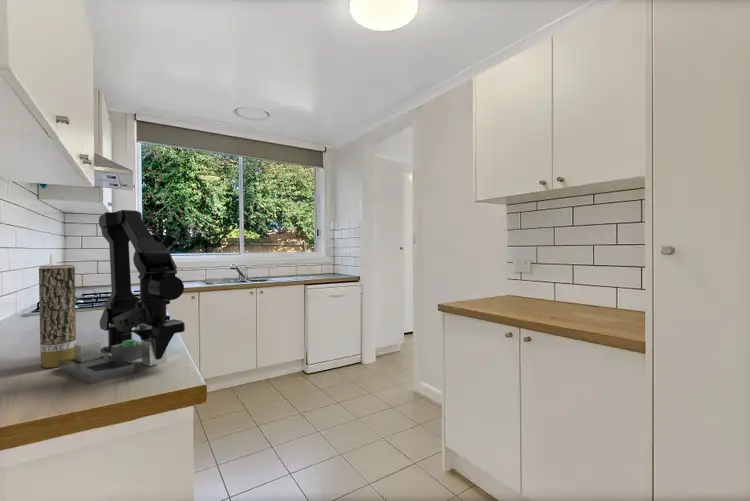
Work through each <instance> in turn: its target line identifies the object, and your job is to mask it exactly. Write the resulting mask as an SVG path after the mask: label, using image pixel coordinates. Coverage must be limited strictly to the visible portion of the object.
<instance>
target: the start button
mask: <svg viewBox="0 0 750 501" xmlns="http://www.w3.org/2000/svg"><path fill="white" fill-rule="evenodd" d="M136 341H137V340H136V339H132V340H126V341H123V342H122V347H129V346H134V345H136Z"/></svg>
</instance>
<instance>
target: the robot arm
mask: <svg viewBox="0 0 750 501" xmlns="http://www.w3.org/2000/svg"><path fill="white" fill-rule="evenodd" d="M98 225H99V226H98V227H99V228H100V229H101V235H102V236H103V238H104V239H105V240H106V242H108V244H109V265H110V282H111V283H110V285H111V294H110V295H109V296H108V298H107V300H106V301H105V303H104V304H105V306H104V309H103V312H102V314H101V316H100V319H99V327H100V330H104V331H105V332H107V338H108V340H107V342H108V343H107V345H108V346H103V347H102V350H104V351H108V352H111V346H113V345H118V344H122V342H123V341H126V340H133V334H136V335H137V336H139V338H140V340H141V341H140V342H142V340H144V339H149V338H151V339H152V340H153V344H154V351H155V357H156V359H157V360H158V359H161V358H162V356H163V354H164V352H165V350H166V351H167V348H168V346H169V344H170V343H171V340H172V339H173V337H174V335H175V334H179V333H183V332H184V333H185V331H186V324H185V322H183V321H182V320H179V319H175V318H173V319H171V315H168V314H167V305H170V304H171V301H174V300H176V299H179V298H180V297H181V296H182V295H183V293H184V291H185V285H184V283H183V281H182V279H180V277H178V276H176V274H178V271H177V268H178V266H177V265H176V263H175V261H174V259H173V257H172V254H171V252H170V251H169V249H167V247H166V246H165V245H164V244H163V243H162V242H159V241H157V240H155V238H154V237H153V235H152V234H151V231H150V230H149V229H148V227H147V225H146V224H145V222H144V220H143V215H142V212H140V211H138V210H130V209H129V210H128V209H121V210H117V211H112V212H107V211H105V212H104V213H103V214H101V215H100V216H99V218H98ZM130 243H131V244H132V246H133V248H134V253H133V256H132V257H133V258H132V260H133V265H134V266H135V269H136V270H137V272H138V276H137V279H139V297H138V296H135V294H134V293H133V292H132V283H131V282H132V279H131V278H132V277H131V262H130V261H131V259H130V258H131V257H130ZM133 328H134V329H133Z"/></svg>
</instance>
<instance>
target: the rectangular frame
mask: <svg viewBox="0 0 750 501" xmlns="http://www.w3.org/2000/svg"><path fill="white" fill-rule="evenodd" d="M59 370H60V371H63V372H65V373H67V374H69V375H71V376H74V377H75V378H77V379H79V380H81V381H84V382H86V383H88V384H89V385H94V384H97V383H101V382H104V381H108V380H111V379H116V378H120V377H123V376H124V377H125V376H127V375H131V374H134V373H135V363H132V362H131V361H124V360H121V359H119V358H116V357H113V356H111V354H110V355H109V354H107V353H104V352H102V351H101V359H99V360H94V361H90V362H85V363H81V364H77V363H75V362H74V358H71V359H66V360H61V361H59Z"/></svg>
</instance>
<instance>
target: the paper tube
mask: <svg viewBox="0 0 750 501" xmlns="http://www.w3.org/2000/svg"><path fill="white" fill-rule="evenodd" d="M75 272H76V266H75V265H74V264H59V265H58V264H57V265H56V264H55V265H53V264H52V265H40V266H38V290H39V292H38V293H39V297H38V298H39V343H40V344H39V346H40V349H39V350H40V351H39V352H40V366H41V368H45V369H47V368H48V369H52V368H58V367H59V361H61V360H66V359H71V358H74V344H76V343H77V333H76V332H77V331H76V330H77V328H76V323H77V322H76V320H77V319H76V281H75V280H76V275H75V274H76V273H75Z"/></svg>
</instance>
